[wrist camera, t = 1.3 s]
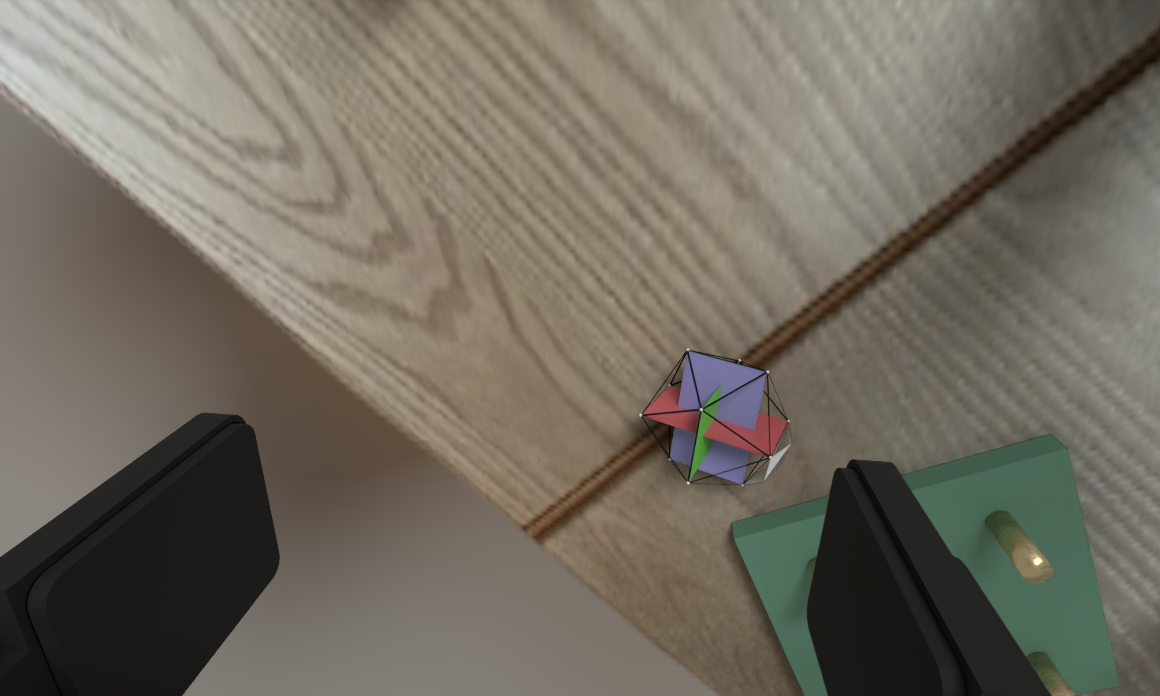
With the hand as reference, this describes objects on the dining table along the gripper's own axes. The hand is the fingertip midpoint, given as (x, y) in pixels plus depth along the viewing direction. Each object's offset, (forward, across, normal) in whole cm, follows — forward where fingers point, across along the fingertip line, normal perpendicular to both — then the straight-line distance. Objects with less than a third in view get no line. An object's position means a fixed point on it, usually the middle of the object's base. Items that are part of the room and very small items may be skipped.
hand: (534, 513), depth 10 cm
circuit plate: (+24, -20, +23) cm, 39 cm away
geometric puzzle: (+25, -6, +10) cm, 27 cm away
